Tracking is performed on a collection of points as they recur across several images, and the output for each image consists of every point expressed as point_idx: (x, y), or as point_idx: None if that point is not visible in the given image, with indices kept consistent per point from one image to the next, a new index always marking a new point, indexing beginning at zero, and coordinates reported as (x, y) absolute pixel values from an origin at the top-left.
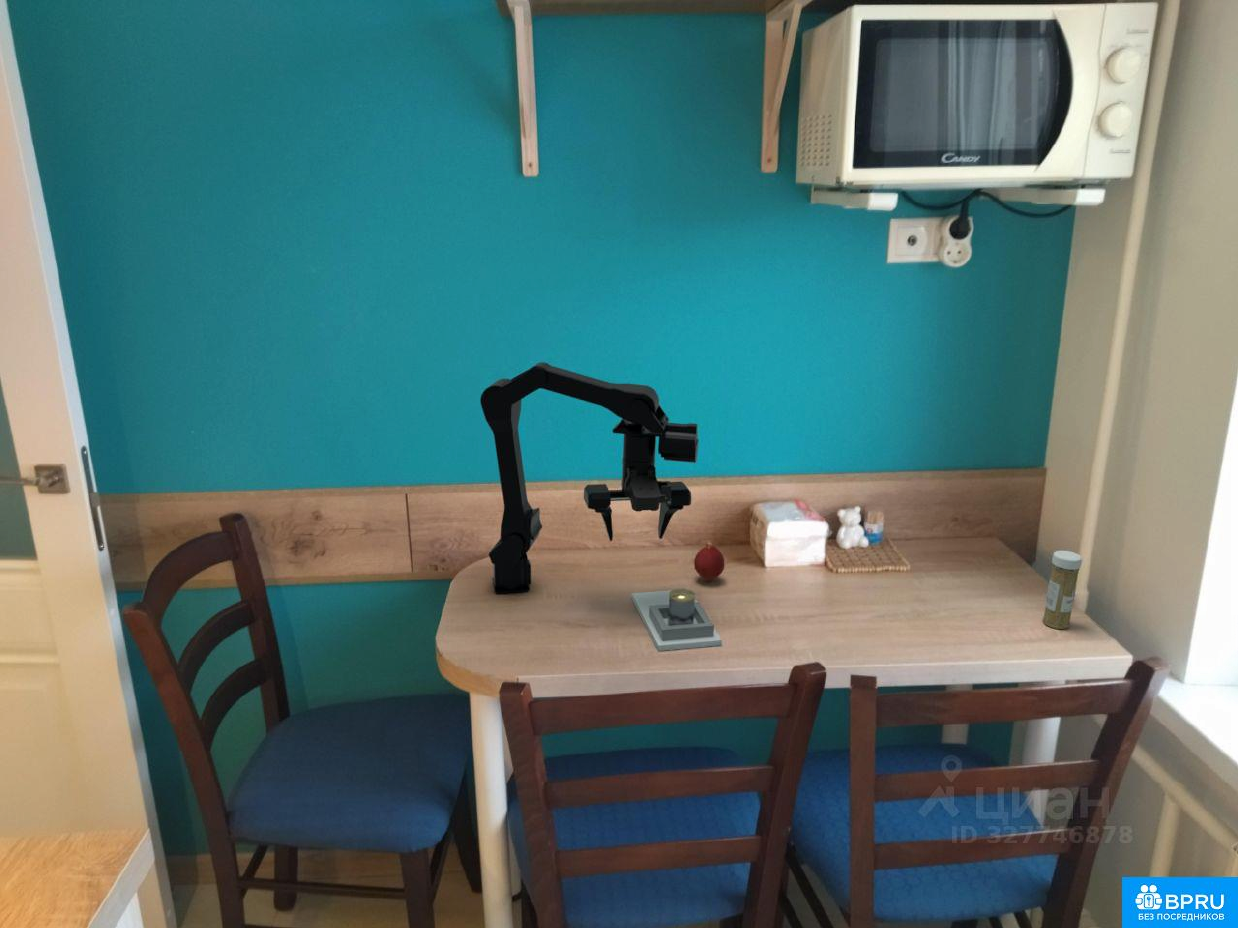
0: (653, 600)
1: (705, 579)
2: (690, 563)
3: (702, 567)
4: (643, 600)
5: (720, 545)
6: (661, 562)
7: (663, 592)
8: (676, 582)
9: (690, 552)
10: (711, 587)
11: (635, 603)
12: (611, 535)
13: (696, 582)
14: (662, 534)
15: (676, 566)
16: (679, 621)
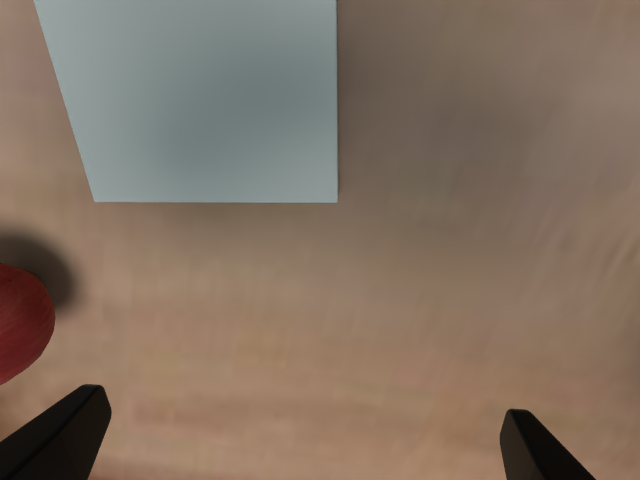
0: (254, 120)
1: (36, 276)
2: None
3: (2, 290)
4: (300, 127)
5: None
6: (188, 411)
7: (201, 189)
8: (148, 285)
9: None
10: (18, 230)
11: (337, 125)
12: (545, 452)
13: (75, 274)
14: (55, 411)
15: (142, 383)
16: None
